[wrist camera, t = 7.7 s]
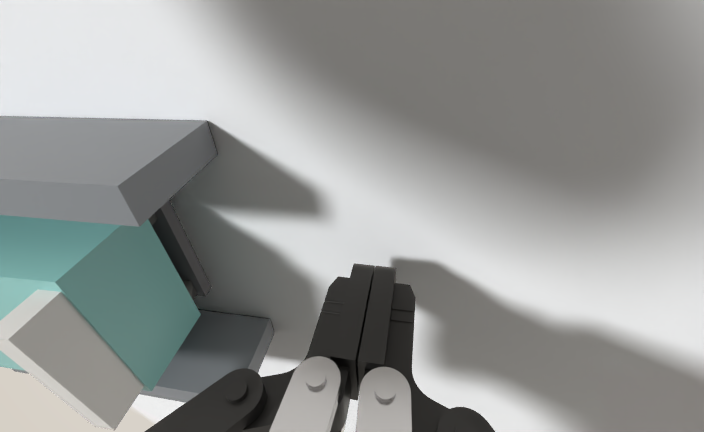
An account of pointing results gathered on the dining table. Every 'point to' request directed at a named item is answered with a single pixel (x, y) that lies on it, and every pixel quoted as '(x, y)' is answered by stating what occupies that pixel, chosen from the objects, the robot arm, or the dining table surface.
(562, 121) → the dining table surface
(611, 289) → the dining table surface
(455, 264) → the dining table surface
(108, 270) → the teal box with handle
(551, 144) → the dining table surface
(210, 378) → the bay
